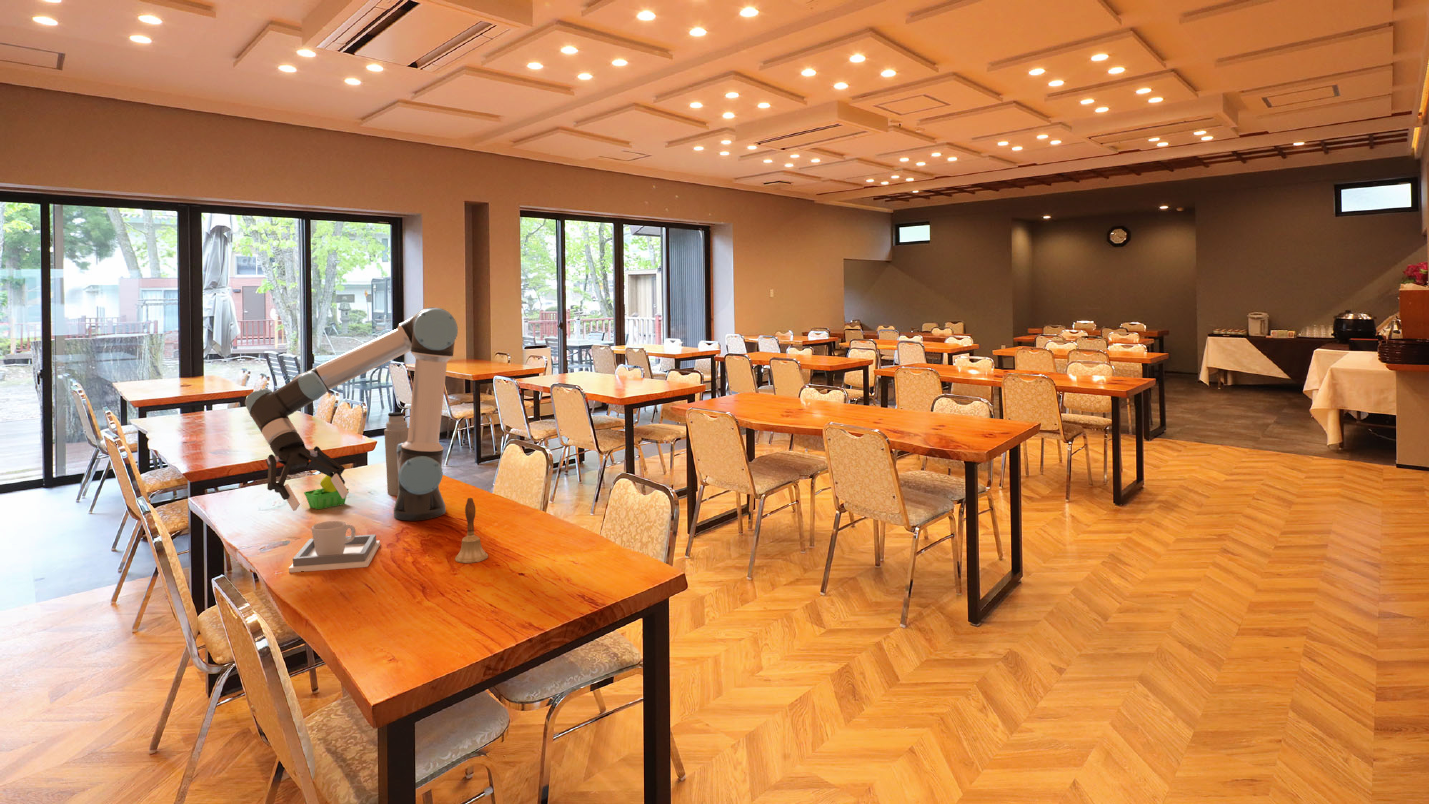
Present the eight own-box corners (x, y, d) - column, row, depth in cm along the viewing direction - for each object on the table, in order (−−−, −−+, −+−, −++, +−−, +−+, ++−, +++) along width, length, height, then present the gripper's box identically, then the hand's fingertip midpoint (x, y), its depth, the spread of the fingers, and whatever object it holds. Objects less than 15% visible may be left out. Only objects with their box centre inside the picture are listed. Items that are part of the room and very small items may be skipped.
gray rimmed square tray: (380, 544, 212) (379, 533, 211) (367, 566, 194) (367, 554, 194) (308, 549, 207) (307, 537, 207) (289, 572, 190) (288, 560, 190)
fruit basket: (338, 500, 257) (336, 467, 256) (352, 504, 252) (350, 470, 251) (303, 507, 248) (301, 473, 247) (318, 512, 243) (315, 477, 242)
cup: (347, 545, 207) (346, 516, 206) (364, 551, 203) (362, 521, 201) (307, 556, 198) (305, 526, 197) (323, 562, 194) (321, 531, 193)
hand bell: (459, 553, 205) (456, 494, 203) (491, 552, 206) (489, 494, 204) (451, 563, 197) (448, 503, 195) (484, 563, 198) (482, 502, 195)
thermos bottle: (417, 490, 271) (413, 411, 267) (403, 495, 263) (399, 414, 259) (396, 489, 272) (392, 410, 268) (382, 494, 264) (378, 414, 261)
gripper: (322, 440, 219) (358, 498, 214) (230, 456, 198) (269, 521, 192) (332, 423, 216) (370, 482, 210) (240, 438, 194) (279, 504, 189)
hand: (321, 501), depth 201 cm, fingers open, 13 cm apart
